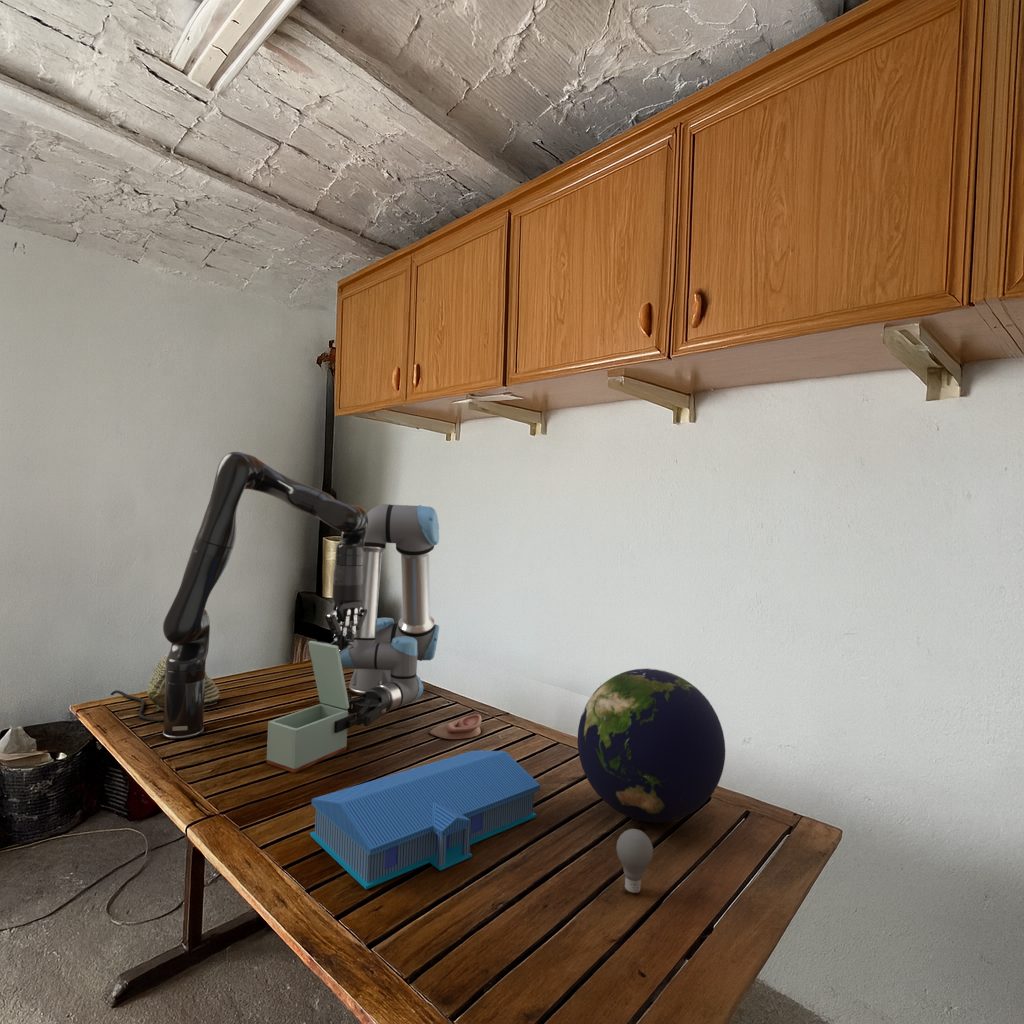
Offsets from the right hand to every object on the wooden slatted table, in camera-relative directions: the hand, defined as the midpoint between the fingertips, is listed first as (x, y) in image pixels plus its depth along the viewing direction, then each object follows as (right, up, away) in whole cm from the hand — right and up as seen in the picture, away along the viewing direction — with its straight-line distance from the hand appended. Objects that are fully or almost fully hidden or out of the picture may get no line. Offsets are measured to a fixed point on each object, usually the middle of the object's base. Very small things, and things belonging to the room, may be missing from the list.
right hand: (320, 722), depth 157 cm
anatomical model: (+32, -8, +16) cm, 37 cm away
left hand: (+4, +17, +6) cm, 19 cm away
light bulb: (+68, -11, -52) cm, 86 cm away
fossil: (-49, -4, +28) cm, 56 cm away
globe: (+76, -11, -25) cm, 80 cm away
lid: (+1, +11, +1) cm, 11 cm away
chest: (-2, -7, -3) cm, 8 cm away
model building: (+32, -9, -35) cm, 48 cm away
